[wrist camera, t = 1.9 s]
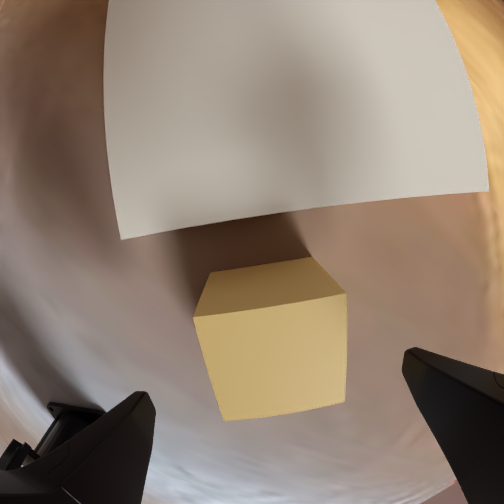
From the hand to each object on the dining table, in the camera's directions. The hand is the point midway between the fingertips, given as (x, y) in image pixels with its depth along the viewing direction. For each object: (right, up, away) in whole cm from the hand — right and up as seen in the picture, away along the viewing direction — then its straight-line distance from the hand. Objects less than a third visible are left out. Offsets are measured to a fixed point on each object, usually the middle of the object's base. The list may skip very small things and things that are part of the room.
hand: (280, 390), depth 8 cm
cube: (0, +1, +6) cm, 6 cm away
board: (+2, +16, +2) cm, 17 cm away
